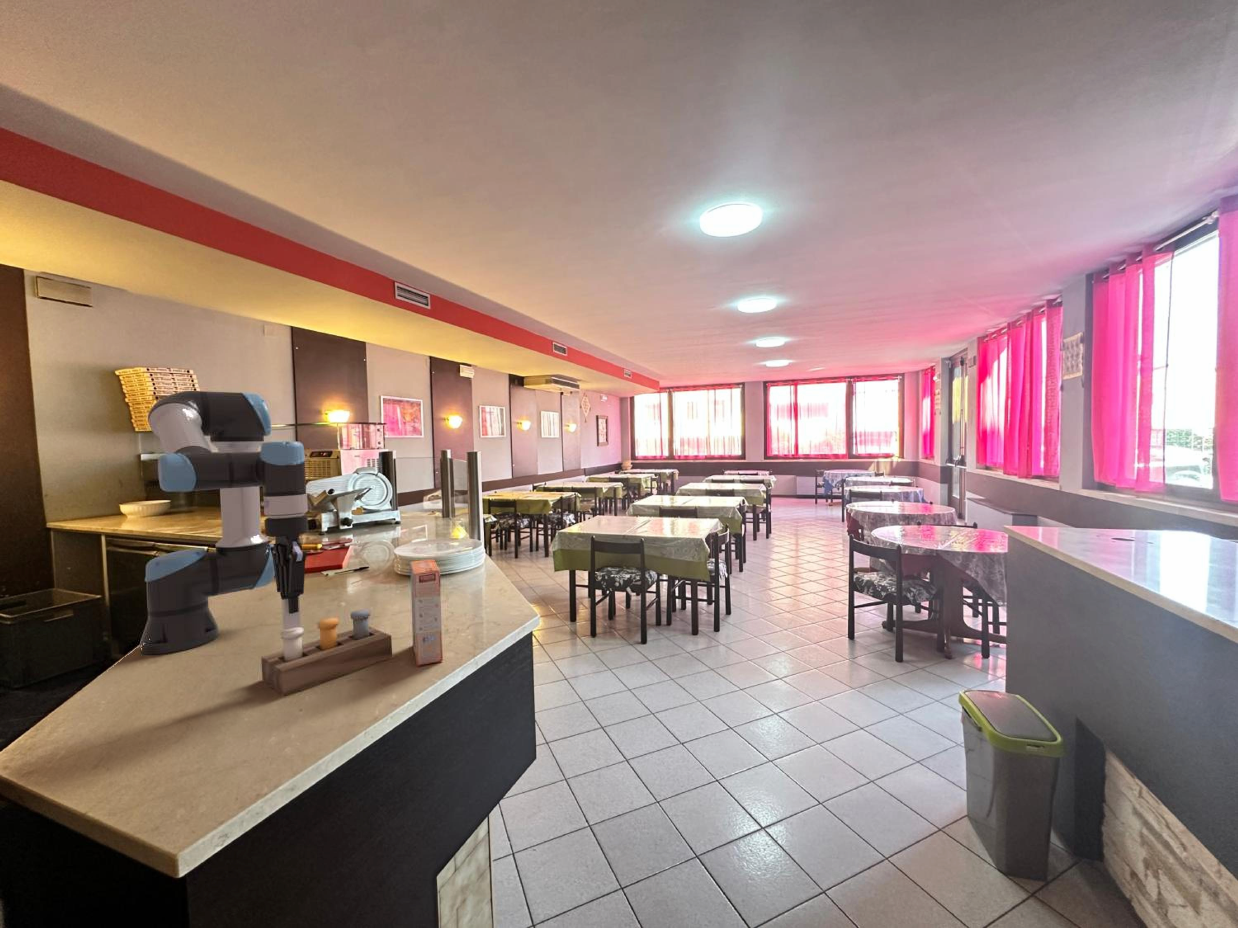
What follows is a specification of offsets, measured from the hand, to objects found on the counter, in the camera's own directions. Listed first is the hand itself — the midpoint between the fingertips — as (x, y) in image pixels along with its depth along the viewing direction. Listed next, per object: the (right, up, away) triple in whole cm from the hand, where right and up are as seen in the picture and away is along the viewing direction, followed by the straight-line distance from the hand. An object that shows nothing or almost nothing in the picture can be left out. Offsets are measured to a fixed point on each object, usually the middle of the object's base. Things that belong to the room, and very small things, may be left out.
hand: (292, 627), depth 104 cm
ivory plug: (0, -8, 0) cm, 8 cm away
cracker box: (+24, -10, +13) cm, 29 cm away
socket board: (+5, -11, +6) cm, 13 cm away
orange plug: (+4, -8, +6) cm, 10 cm away
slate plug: (+9, -7, +11) cm, 16 cm away
